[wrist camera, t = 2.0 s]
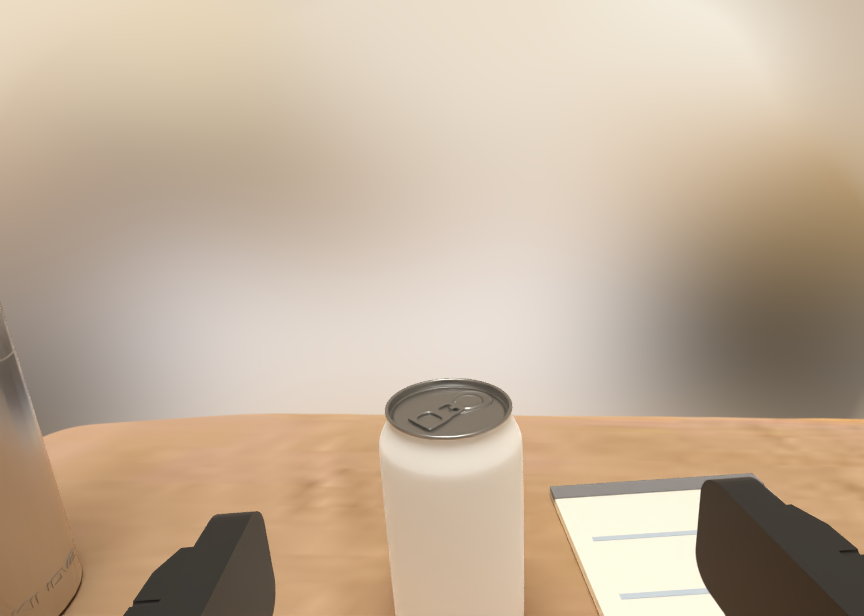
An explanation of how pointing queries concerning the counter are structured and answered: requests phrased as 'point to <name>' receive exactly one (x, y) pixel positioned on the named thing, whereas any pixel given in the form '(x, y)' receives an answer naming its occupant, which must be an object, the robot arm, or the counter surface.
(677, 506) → the notepad
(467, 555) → the can
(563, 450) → the counter surface
